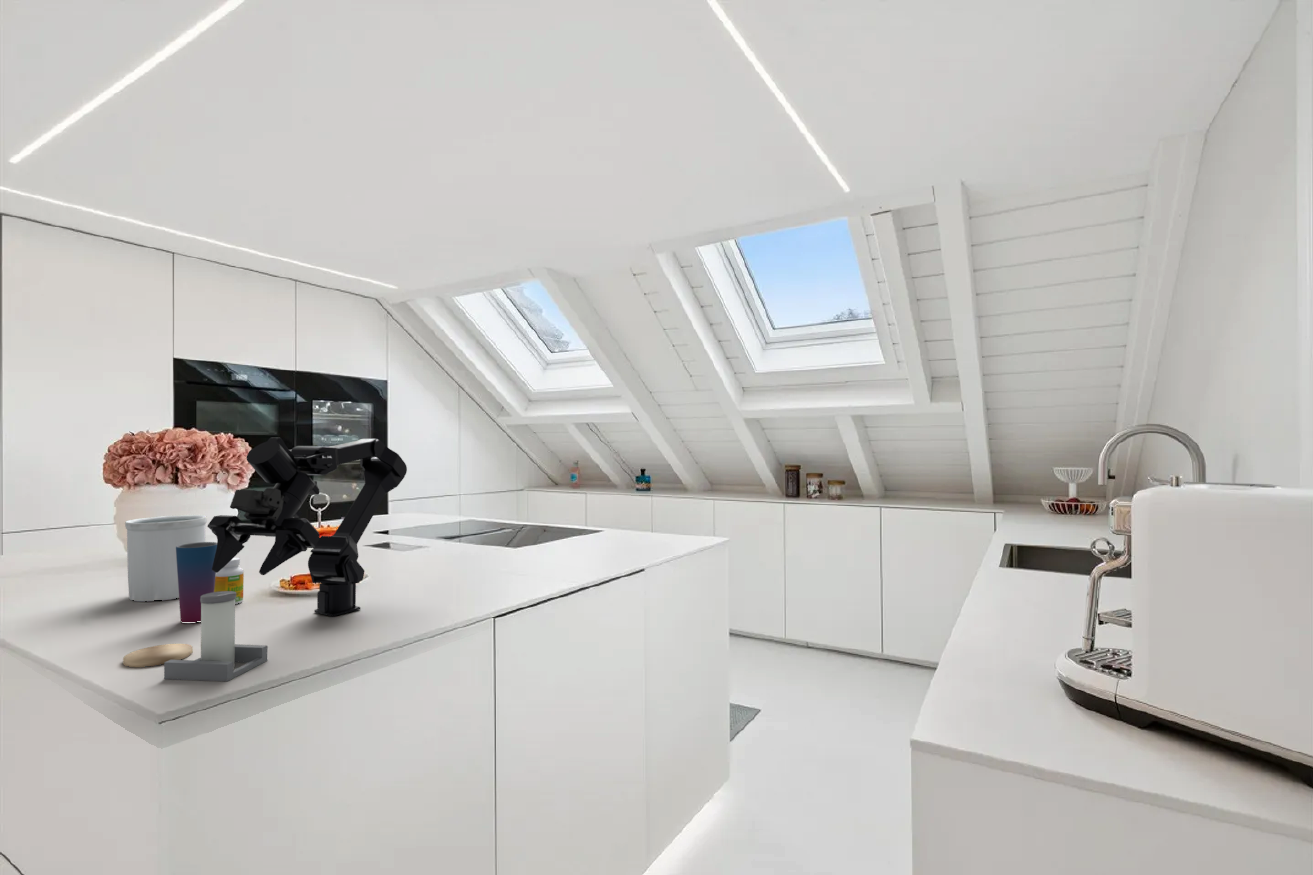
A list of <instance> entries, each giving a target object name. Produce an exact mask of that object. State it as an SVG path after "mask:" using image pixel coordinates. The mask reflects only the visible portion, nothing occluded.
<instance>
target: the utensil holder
mask: <svg viewBox="0 0 1313 875" xmlns="http://www.w3.org/2000/svg"><path fill="white" fill-rule="evenodd" d="M207 521H208V518H207V516H206V515H204V514H182V515H181V514H178V515H176V514H175V515H163V516H152V517H143V518H134V519H129V520H126V521H125V523H124V525H125V526H124V527H125V529H126V551H127V552H126V553H127V556H126V557H127V558H126V559H127V561H126V562H127V584H128V585H127V586H128V598H129V600H130V601H132V600H134V601H133V602H145V601H147V602H155V601H154V600H162V601H170V600H174V599H176V598H177V599H179V588H178V573H177V558H176V546H177V545H181V544H187V543H196V542H206V523H207Z"/></svg>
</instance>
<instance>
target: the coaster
mask: <svg viewBox="0 0 1313 875" xmlns="http://www.w3.org/2000/svg"><path fill="white" fill-rule="evenodd" d="M191 653H192V654H193V646H192V645H191V644H187V643H168V644H167V643H165V644H159V645H153V646H148V647H144V648H140V649H137V650H134V651H132V652H129V653H127V654H125V655H124V656H123V658H122V664H123V665H124V666H125V667H127V666H129V668H146V667H145V666H151V667H156V666H155V665H158V666H161V665H160V664H163V665H164V662H166V661H169V660H181V659H182V660H185V659H186V658H188V657H190V656H191V655H192V654H191ZM190 654H191V655H190ZM189 655H190V656H189Z"/></svg>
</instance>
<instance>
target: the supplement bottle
mask: <svg viewBox="0 0 1313 875" xmlns="http://www.w3.org/2000/svg"><path fill="white" fill-rule="evenodd" d="M240 566H241V558H240V557H237V556H235V557H234V558H233V559H232V560H231V561H230V562H229V563H228V564H227V565H226V566H225V567H223V568H222V569H221V570H220V571H219V572H217V573H216V576H215V587H214V592H220V591H234V592H236V599H235V604H236V605H238V603H239V604H241V603H243V602H244V577H245V576H244V575H245V574H244V572H245V571H244V569H243V568H242V567H240ZM242 601H243V602H242Z"/></svg>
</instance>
